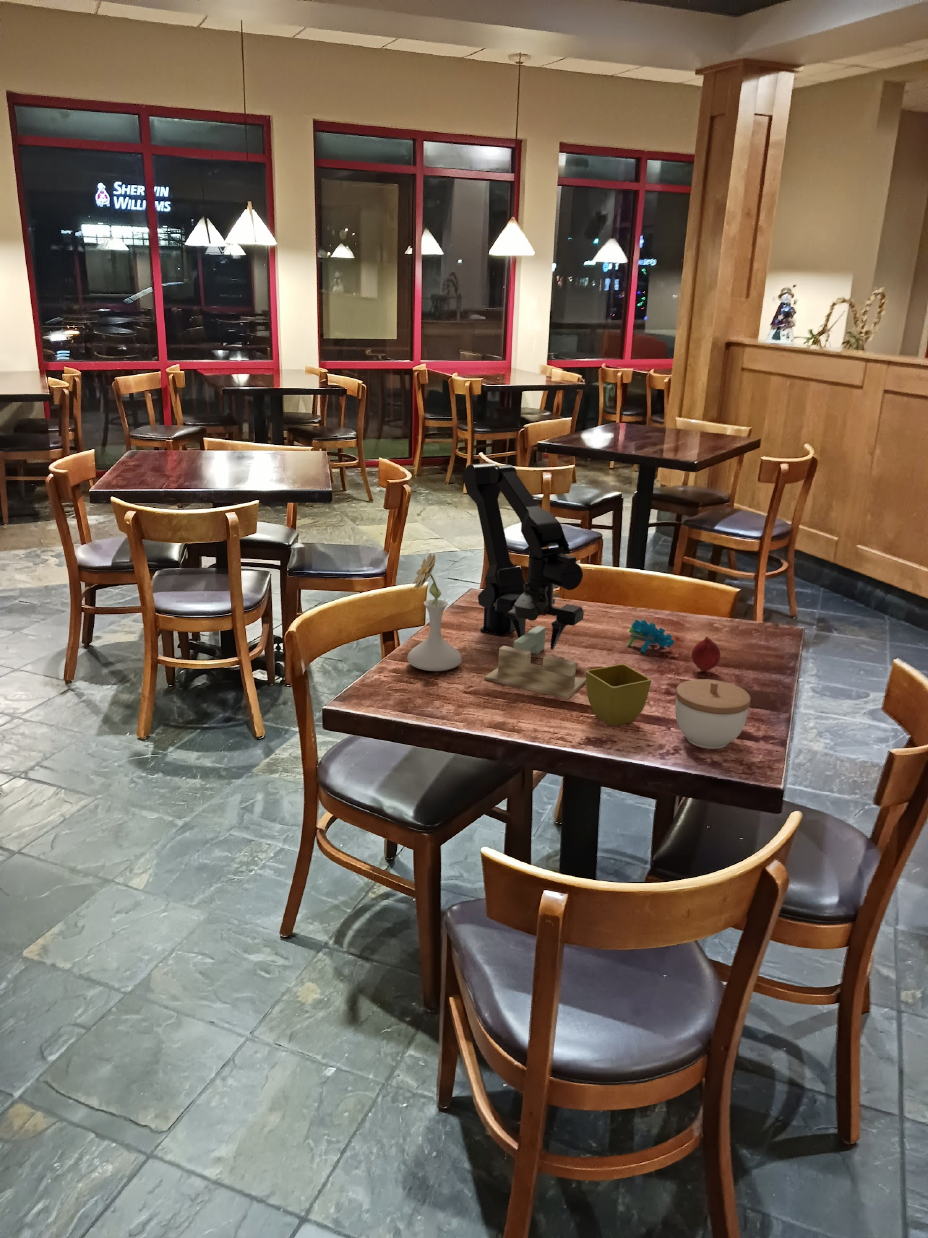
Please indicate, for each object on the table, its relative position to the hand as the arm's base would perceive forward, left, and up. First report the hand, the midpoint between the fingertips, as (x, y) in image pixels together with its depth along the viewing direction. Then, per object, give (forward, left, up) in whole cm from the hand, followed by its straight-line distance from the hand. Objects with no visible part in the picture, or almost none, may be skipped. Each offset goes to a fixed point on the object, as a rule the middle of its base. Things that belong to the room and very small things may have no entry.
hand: (536, 645), depth 202 cm
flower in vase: (-14, -21, -1) cm, 25 cm away
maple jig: (+7, -16, -1) cm, 17 cm away
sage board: (0, -4, -1) cm, 4 cm away
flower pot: (+27, -25, -1) cm, 37 cm away
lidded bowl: (+44, -24, -1) cm, 50 cm away
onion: (+35, +8, -1) cm, 36 cm away
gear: (+21, +15, -1) cm, 26 cm away
